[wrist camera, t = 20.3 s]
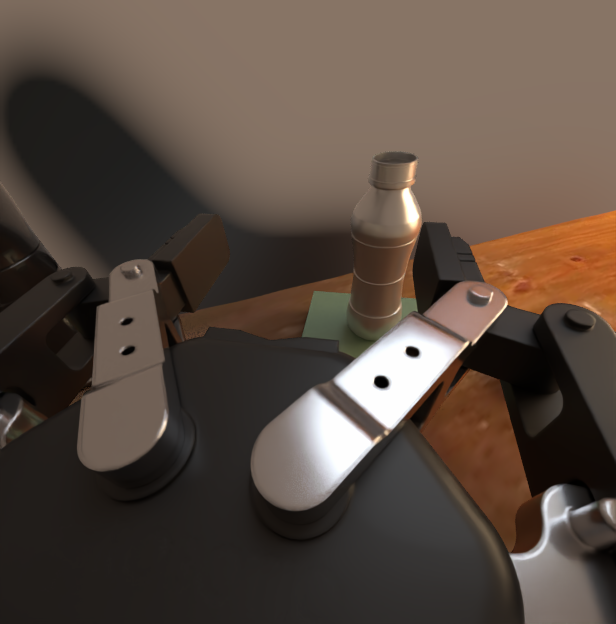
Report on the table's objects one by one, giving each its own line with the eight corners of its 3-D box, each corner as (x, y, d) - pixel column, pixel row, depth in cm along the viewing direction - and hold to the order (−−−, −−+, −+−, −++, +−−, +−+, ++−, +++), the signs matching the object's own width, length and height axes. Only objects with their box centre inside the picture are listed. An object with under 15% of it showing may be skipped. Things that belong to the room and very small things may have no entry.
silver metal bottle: (409, 336, 36) (457, 159, 22) (361, 355, 34) (383, 176, 20) (379, 305, 40) (404, 142, 26) (336, 321, 38) (339, 155, 25)
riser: (298, 379, 37) (295, 359, 34) (314, 310, 46) (313, 290, 43) (439, 397, 34) (449, 377, 31) (426, 320, 43) (433, 300, 40)
